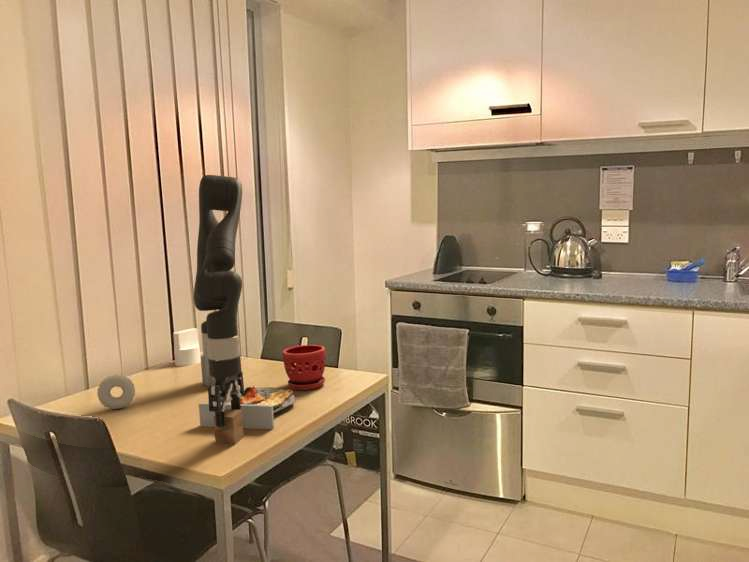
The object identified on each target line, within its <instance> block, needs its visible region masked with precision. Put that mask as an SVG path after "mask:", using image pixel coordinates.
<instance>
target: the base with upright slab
mask: <svg viewBox="0 0 749 562" xmlns="http://www.w3.org/2000/svg"><path fill="white" fill-rule="evenodd" d="M172 335H173V346H174V347H173V352H174V353H173V354H174V364H175V366H178V367H188V366H189V367H190V366H195V365H198V364H201V350H200V344H199V330H198V328H195V327H193V328H188V329H183V330H179V331H174V332H173V333H172Z"/></svg>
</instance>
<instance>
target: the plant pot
mask: <svg viewBox="0 0 749 562" xmlns="http://www.w3.org/2000/svg"><path fill="white" fill-rule="evenodd" d="M282 360H283V367H284V371H285V373H286V375H287V377H288V381H287V384H288V386H289V387H290V388H292V389H294V390H300V391H301V390H302V391H304V390H305V391H306V390H313V389H317V388H320V387H321V386H322V385H324V384H325V381H326V378H325V376H324V372H325V369H326V348H325V347H324V346H323V345H318V344H301V345H295V346H291V347H288V348H285V349H283V351H282Z"/></svg>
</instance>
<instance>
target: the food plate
mask: <svg viewBox="0 0 749 562" xmlns="http://www.w3.org/2000/svg"><path fill="white" fill-rule="evenodd" d="M296 402H297V398H296V395H295V393H293V390H292V389H283V388H279V387H255V386H254V385H253V386H252V387H251V386H249V387H248V386H247V387H246V388H244V394H241V399H240V404H251V405H255V404H257V403H260V404H258V405H273V414H274V413H277V412H279V411H282V410H283V409H285V408H287V407H289V406H291V405H293V404H294V403H296ZM207 403H209V401H208V402H207ZM213 403H214V402H213ZM221 403H222V402H221ZM229 403H231V398H230V397H229V401H228V403H227V404H229Z"/></svg>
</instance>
